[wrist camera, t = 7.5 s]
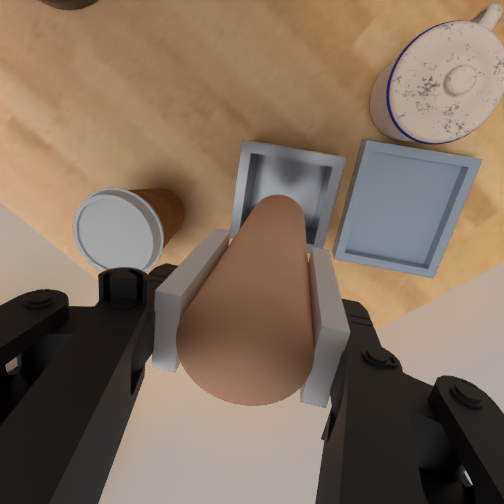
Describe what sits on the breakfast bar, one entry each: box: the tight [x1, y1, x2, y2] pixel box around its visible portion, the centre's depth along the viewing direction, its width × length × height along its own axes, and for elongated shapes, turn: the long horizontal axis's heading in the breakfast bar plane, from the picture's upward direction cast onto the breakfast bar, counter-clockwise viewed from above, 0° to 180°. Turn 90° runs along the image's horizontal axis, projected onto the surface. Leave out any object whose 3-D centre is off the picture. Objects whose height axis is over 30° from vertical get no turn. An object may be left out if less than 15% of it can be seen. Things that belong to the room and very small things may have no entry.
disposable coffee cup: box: [73, 187, 184, 272], centre depth 36 cm, size 10×10×12 cm
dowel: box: [176, 195, 314, 406], centre depth 16 cm, size 4×4×15 cm
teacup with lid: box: [370, 3, 504, 144], centre depth 27 cm, size 12×9×12 cm
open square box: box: [229, 140, 346, 253], centre depth 35 cm, size 10×10×8 cm
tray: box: [333, 140, 483, 278], centre depth 36 cm, size 14×12×2 cm
